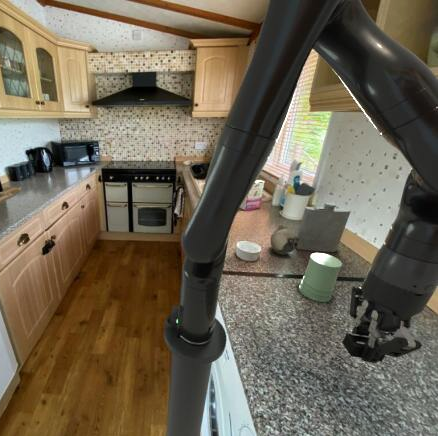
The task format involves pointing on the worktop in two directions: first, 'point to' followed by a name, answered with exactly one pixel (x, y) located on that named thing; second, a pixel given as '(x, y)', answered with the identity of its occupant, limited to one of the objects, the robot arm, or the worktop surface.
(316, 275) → the cup stack
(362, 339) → the binder clip
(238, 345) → the worktop surface
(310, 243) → the hip flask
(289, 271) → the worktop surface
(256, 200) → the candy bar box
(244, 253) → the ramekin
